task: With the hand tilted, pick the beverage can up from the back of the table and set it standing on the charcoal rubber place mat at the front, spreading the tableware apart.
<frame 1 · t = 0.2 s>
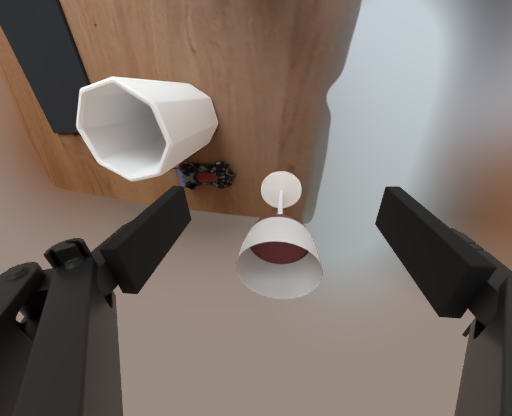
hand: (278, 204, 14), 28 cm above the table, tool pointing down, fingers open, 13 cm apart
cup: (190, 117, 39), on the table
toy car: (209, 173, 44), on the table
place mat: (51, 61, 37), on the table
wineglass: (280, 190, 44), on the table
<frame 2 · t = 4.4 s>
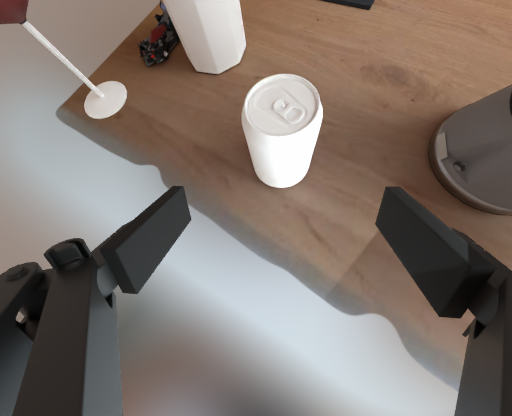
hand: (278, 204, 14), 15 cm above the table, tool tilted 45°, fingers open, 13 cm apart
cup: (217, 53, 39), on the table
beverage can: (281, 164, 31), on the table
toy car: (166, 46, 41), on the table
wineglass: (106, 100, 39), on the table
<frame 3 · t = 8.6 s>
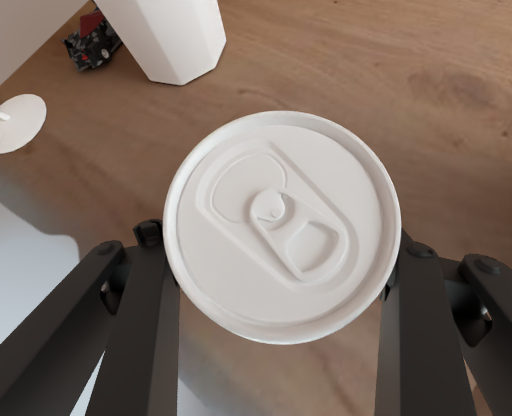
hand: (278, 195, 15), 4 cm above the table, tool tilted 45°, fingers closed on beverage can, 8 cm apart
cup: (183, 52, 26), on the table
beverage can: (278, 246, 18), on the table, touching gripper
toy car: (110, 43, 28), on the table
wineglass: (16, 123, 26), on the table
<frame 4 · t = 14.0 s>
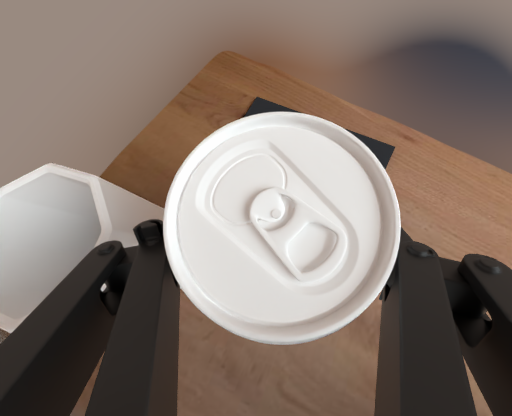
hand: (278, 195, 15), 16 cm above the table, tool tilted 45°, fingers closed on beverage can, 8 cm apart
cup: (173, 253, 31), on the table
beverage can: (278, 246, 18), point 12 cm above the table, touching gripper
place mat: (303, 151, 33), on the table
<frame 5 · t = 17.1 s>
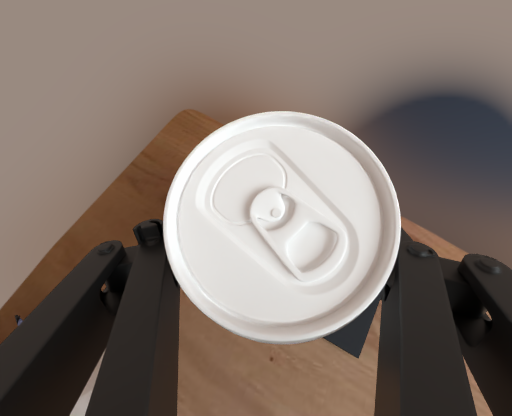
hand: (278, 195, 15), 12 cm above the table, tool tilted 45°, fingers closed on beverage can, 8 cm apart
cup: (109, 399, 24), on the table
beverage can: (278, 246, 18), point 8 cm above the table, touching gripper
place mat: (279, 252, 26), on the table
when the fingers open (4 cm above the table, at t = 19.7 s): beverage can stays where it is, resting on place mat.
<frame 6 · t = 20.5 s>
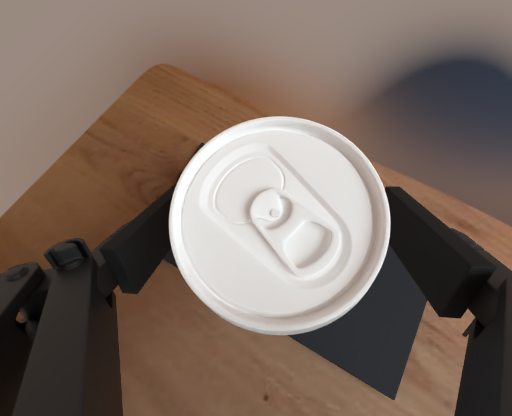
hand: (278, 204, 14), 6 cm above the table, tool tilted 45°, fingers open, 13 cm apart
beverage can: (277, 244, 18), resting on place mat
place mat: (278, 245, 19), on the table
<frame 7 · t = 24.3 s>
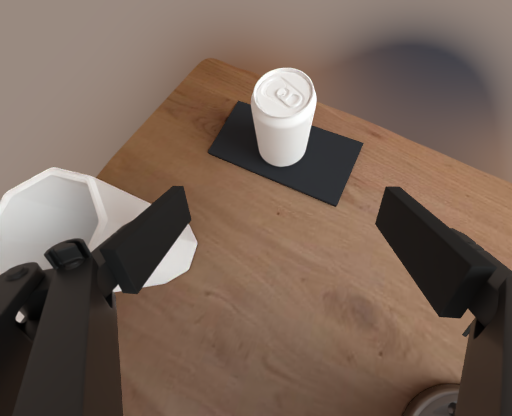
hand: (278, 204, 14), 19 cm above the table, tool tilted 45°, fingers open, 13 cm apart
cup: (165, 247, 34), on the table
beverage can: (282, 147, 36), resting on place mat
place mat: (282, 149, 36), on the table
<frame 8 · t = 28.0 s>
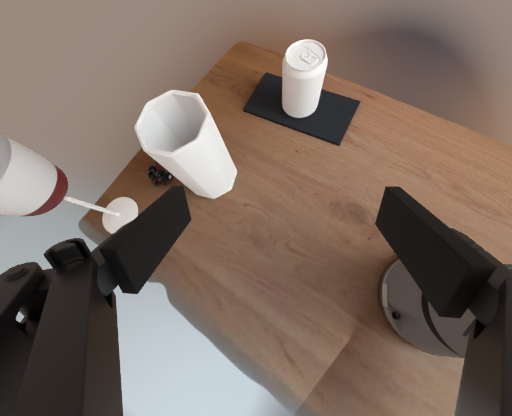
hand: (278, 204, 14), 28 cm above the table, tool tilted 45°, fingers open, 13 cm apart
cup: (213, 176, 46), on the table
beverage can: (299, 105, 48), resting on place mat
toy car: (170, 165, 48), on the table
place mat: (299, 107, 48), on the table
wineglass: (120, 215, 46), on the table
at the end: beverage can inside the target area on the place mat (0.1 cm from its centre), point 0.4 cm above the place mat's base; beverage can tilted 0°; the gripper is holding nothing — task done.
